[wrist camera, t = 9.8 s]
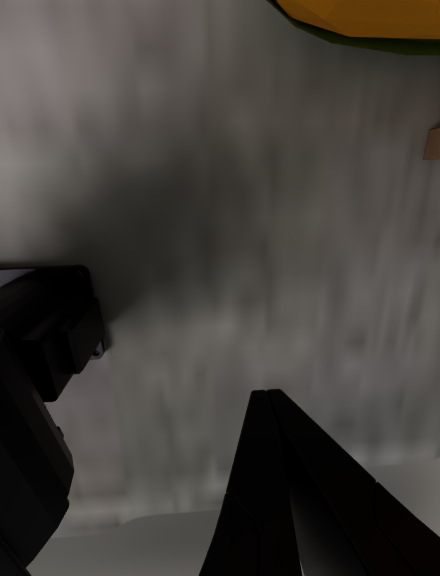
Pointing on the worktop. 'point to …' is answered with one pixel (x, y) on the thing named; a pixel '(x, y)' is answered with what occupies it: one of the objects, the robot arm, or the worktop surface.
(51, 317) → the robot arm
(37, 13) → the worktop surface
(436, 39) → the corn
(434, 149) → the guide bay
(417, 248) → the worktop surface
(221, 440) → the worktop surface
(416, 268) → the worktop surface
